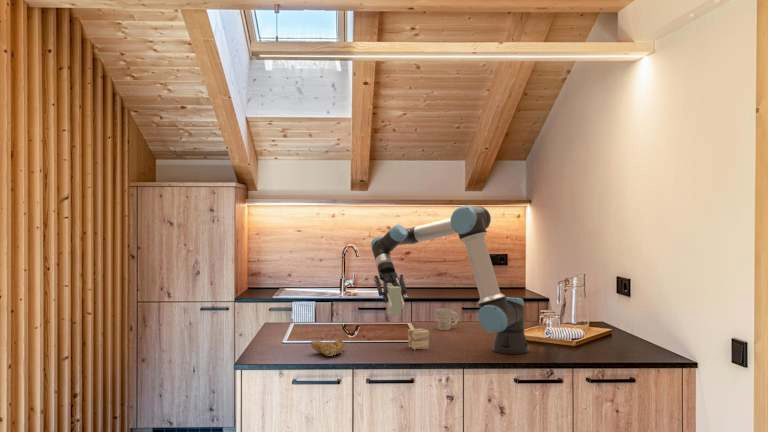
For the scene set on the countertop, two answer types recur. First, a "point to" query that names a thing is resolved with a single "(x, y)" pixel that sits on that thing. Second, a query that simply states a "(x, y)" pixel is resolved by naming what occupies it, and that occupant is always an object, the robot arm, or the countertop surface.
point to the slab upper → (418, 334)
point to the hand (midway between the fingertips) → (396, 307)
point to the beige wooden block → (419, 344)
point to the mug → (445, 318)
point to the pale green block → (394, 300)
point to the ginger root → (328, 347)
